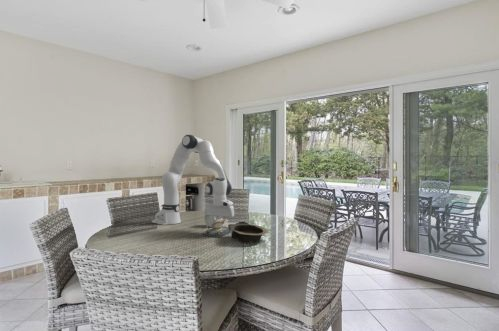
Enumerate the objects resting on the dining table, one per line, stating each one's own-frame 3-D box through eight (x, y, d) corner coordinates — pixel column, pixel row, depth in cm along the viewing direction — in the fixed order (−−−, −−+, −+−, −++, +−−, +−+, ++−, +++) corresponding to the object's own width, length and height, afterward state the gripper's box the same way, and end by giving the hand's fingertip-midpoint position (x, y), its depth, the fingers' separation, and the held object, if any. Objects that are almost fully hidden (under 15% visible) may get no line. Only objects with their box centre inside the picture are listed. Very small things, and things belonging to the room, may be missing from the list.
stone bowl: (222, 236, 185) (223, 221, 185) (257, 235, 194) (258, 221, 195) (234, 246, 162) (236, 229, 162) (274, 245, 172) (275, 229, 172)
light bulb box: (222, 225, 216) (222, 210, 216) (220, 227, 209) (220, 212, 209) (208, 224, 217) (208, 210, 217) (205, 226, 210) (206, 211, 210)
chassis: (201, 235, 187) (201, 228, 187) (218, 228, 206) (218, 221, 206) (220, 237, 182) (220, 230, 181) (235, 230, 201) (235, 223, 201)
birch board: (211, 227, 189) (211, 222, 189) (221, 223, 201) (221, 218, 201) (218, 228, 187) (218, 223, 187) (227, 223, 199) (227, 219, 199)
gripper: (203, 201, 195) (203, 222, 195) (231, 203, 187) (230, 225, 187) (208, 200, 201) (208, 220, 201) (235, 202, 192) (235, 223, 193)
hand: (219, 222), depth 194 cm, fingers closed on birch board, 5 cm apart
